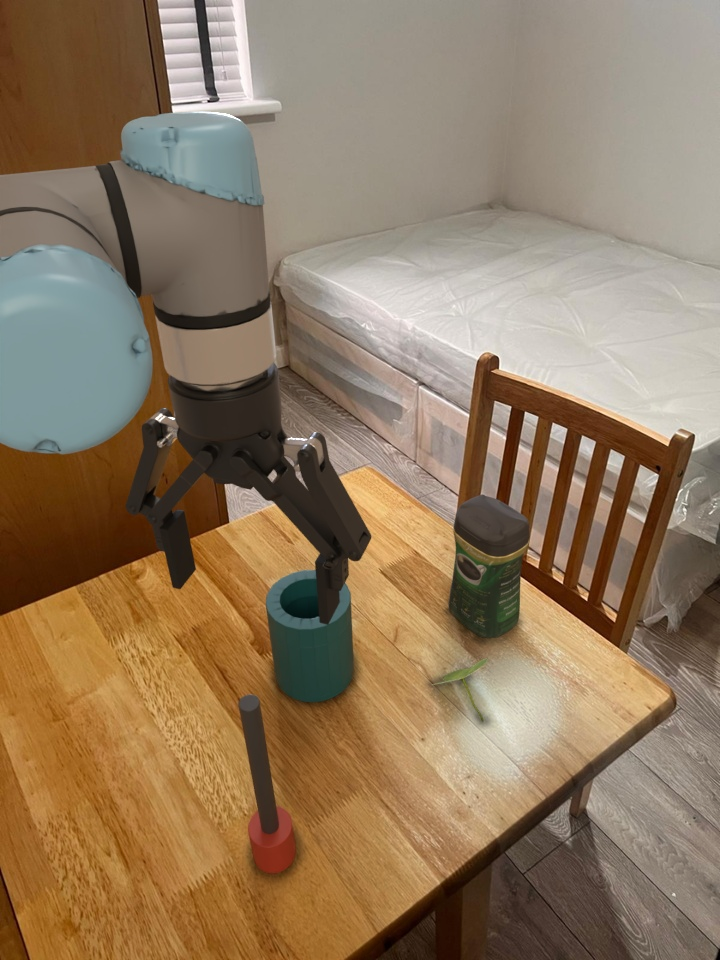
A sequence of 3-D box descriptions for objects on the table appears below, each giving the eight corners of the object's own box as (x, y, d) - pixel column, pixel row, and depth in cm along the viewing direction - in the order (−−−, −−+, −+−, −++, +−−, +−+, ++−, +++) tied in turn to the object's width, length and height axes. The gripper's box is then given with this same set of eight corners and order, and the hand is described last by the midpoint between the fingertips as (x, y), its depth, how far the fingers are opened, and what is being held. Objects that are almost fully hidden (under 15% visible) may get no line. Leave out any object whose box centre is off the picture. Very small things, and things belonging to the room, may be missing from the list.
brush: (257, 879, 73) (227, 730, 60) (249, 839, 77) (219, 689, 63) (300, 865, 75) (279, 716, 61) (290, 826, 78) (269, 676, 64)
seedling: (463, 728, 93) (443, 679, 95) (518, 706, 90) (495, 656, 92) (440, 738, 87) (419, 685, 89) (498, 714, 84) (474, 660, 86)
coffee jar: (528, 622, 101) (544, 516, 91) (487, 649, 98) (499, 542, 87) (478, 584, 108) (488, 482, 97) (438, 608, 104) (444, 504, 93)
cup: (285, 711, 90) (275, 638, 83) (268, 651, 98) (258, 580, 91) (363, 690, 93) (361, 617, 85) (341, 633, 101) (337, 562, 93)
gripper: (413, 366, 49) (408, 596, 61) (100, 326, 56) (151, 539, 68) (379, 419, 43) (381, 662, 55) (35, 367, 50) (103, 593, 62)
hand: (255, 595), depth 62 cm, fingers open, 13 cm apart
